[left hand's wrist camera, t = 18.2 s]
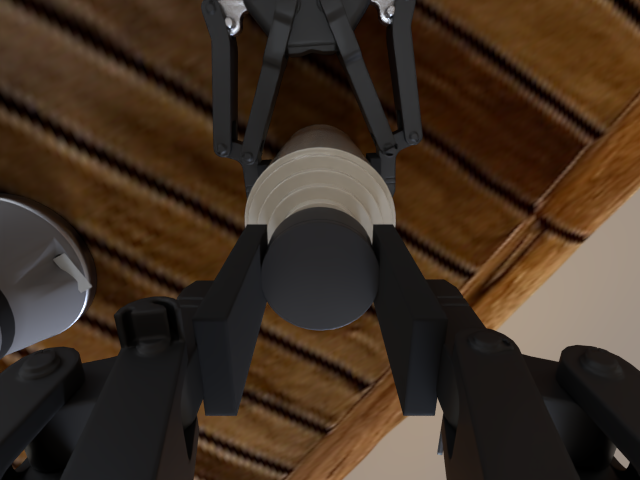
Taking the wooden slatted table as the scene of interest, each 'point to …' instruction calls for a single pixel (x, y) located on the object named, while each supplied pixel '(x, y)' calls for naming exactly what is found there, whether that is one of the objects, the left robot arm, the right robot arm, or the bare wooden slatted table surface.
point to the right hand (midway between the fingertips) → (323, 239)
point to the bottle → (320, 181)
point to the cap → (320, 269)
